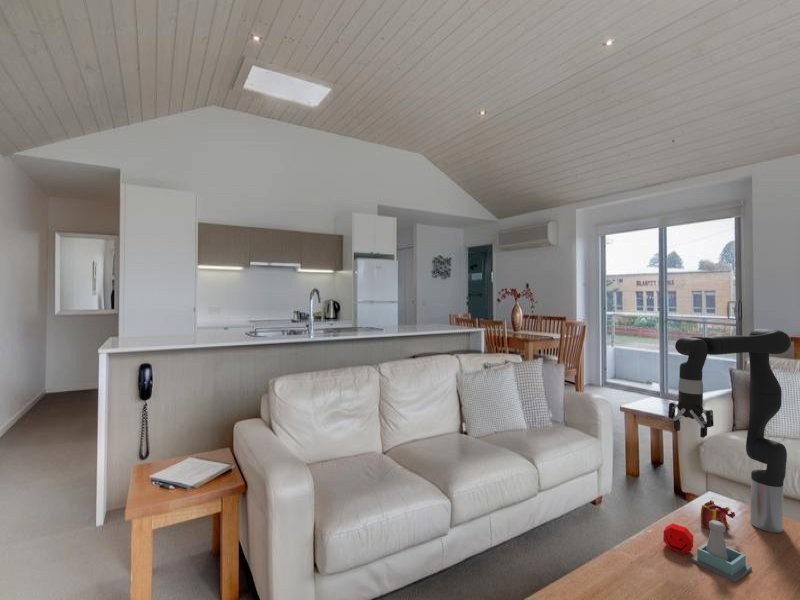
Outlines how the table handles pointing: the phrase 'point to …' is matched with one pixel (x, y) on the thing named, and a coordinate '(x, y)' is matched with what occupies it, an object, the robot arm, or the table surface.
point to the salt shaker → (717, 540)
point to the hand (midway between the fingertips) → (689, 433)
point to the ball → (678, 538)
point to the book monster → (714, 514)
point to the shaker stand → (723, 563)
